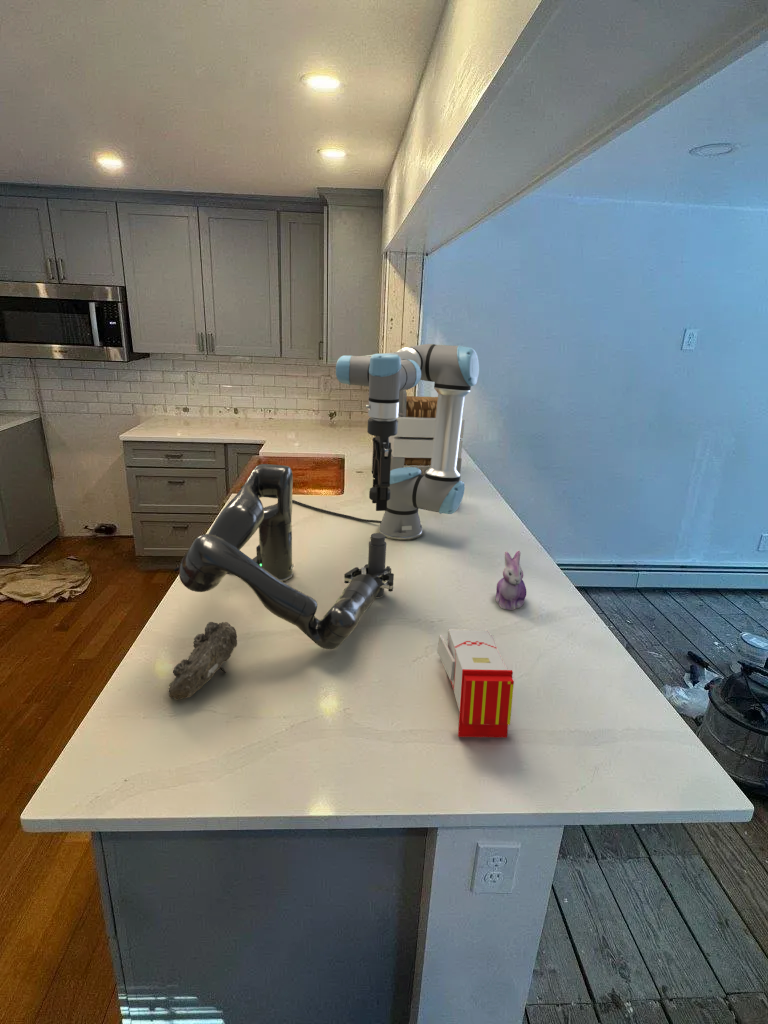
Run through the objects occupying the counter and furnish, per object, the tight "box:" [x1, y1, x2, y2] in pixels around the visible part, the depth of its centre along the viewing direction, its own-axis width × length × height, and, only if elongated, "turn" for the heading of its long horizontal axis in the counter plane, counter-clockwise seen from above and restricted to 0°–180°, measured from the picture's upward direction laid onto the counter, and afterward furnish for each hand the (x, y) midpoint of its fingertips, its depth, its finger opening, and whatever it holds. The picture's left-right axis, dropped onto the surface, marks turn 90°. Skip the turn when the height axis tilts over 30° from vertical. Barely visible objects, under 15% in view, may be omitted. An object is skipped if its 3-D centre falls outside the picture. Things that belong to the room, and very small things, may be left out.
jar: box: [367, 532, 387, 599], centre depth 154 cm, size 5×5×18 cm
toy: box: [437, 628, 515, 738], centre depth 117 cm, size 12×13×30 cm
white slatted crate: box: [389, 390, 465, 475], centre depth 268 cm, size 34×33×41 cm
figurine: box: [495, 550, 527, 611], centre depth 153 cm, size 9×10×15 cm
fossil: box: [167, 621, 238, 701], centre depth 119 cm, size 22×10×15 cm
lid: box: [368, 486, 390, 501], centre depth 148 cm, size 6×6×2 cm
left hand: (379, 567), depth 157 cm, fingers closed on jar, 4 cm apart
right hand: (379, 506), depth 149 cm, fingers closed on lid, 5 cm apart
